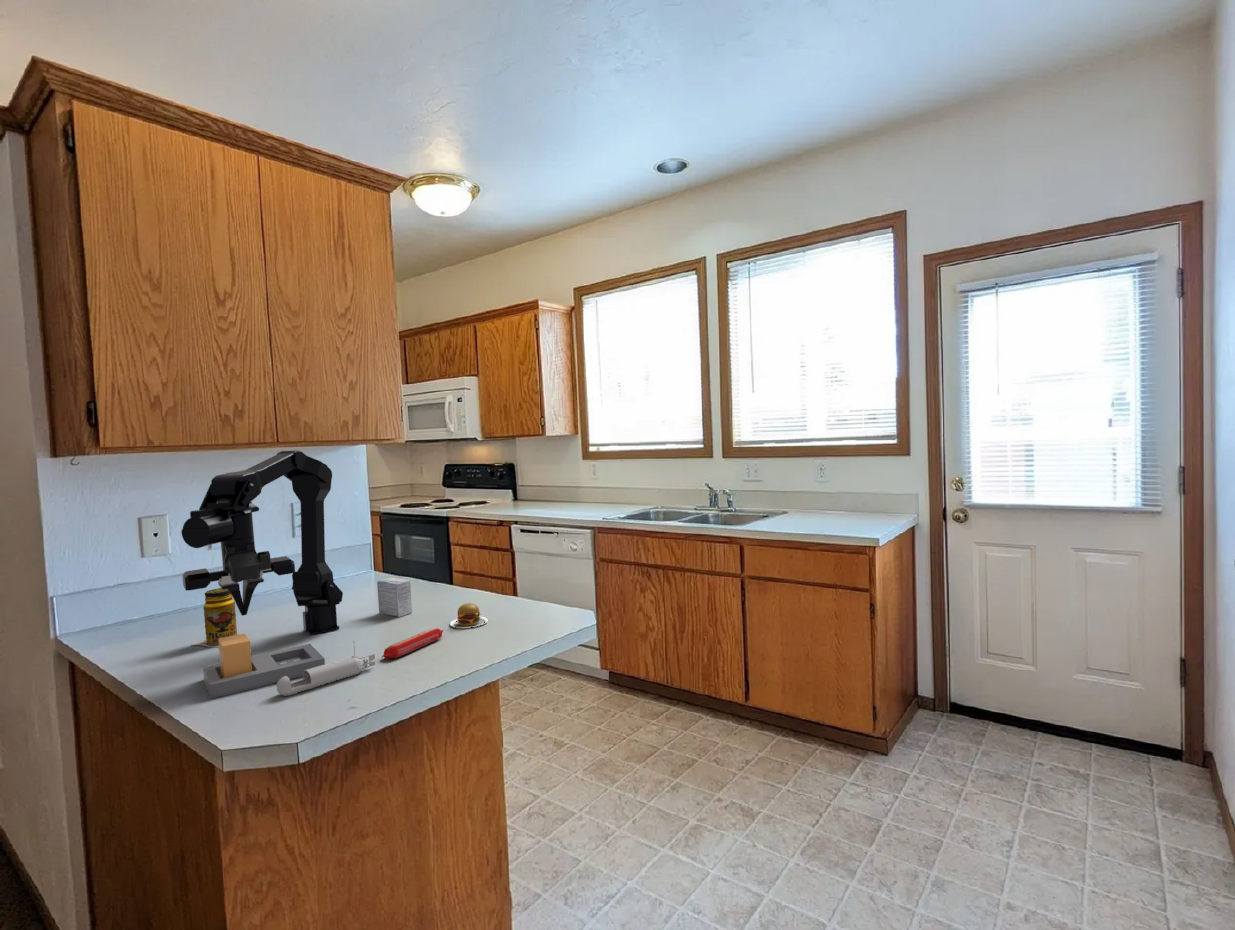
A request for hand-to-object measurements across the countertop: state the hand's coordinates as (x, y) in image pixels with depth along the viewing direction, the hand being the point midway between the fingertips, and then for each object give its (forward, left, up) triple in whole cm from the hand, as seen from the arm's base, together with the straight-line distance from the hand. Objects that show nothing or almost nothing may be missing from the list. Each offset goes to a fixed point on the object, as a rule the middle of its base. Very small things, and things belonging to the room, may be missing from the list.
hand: (243, 614), depth 128 cm
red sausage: (-29, +12, -11) cm, 34 cm away
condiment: (+2, -25, -11) cm, 28 cm away
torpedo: (-11, +19, -11) cm, 25 cm away
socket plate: (-2, +7, -11) cm, 13 cm away
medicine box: (-36, -18, -11) cm, 42 cm away
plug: (+3, +5, -10) cm, 11 cm away
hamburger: (-46, +4, -12) cm, 48 cm away
